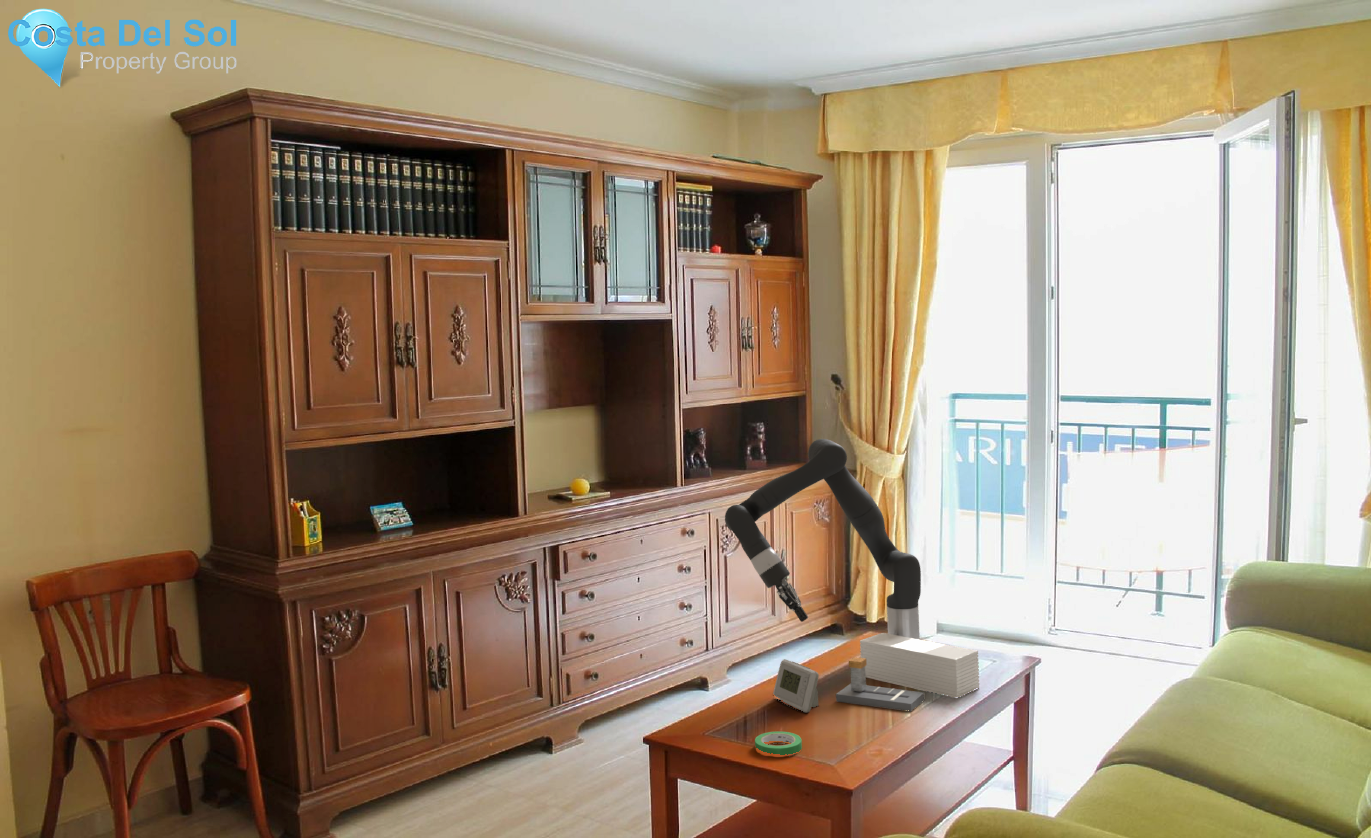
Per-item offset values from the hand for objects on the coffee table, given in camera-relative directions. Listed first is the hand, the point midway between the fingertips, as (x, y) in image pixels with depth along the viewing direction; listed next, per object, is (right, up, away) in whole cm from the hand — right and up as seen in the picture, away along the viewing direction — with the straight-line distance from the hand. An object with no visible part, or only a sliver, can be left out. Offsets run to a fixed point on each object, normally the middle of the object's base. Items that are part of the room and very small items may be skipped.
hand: (805, 619), depth 291 cm
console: (+19, -20, -10) cm, 29 cm away
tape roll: (-11, -23, -40) cm, 48 cm away
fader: (+14, -17, -7) cm, 23 cm away
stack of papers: (+32, -19, +4) cm, 38 cm away
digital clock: (-3, -21, -9) cm, 23 cm away
